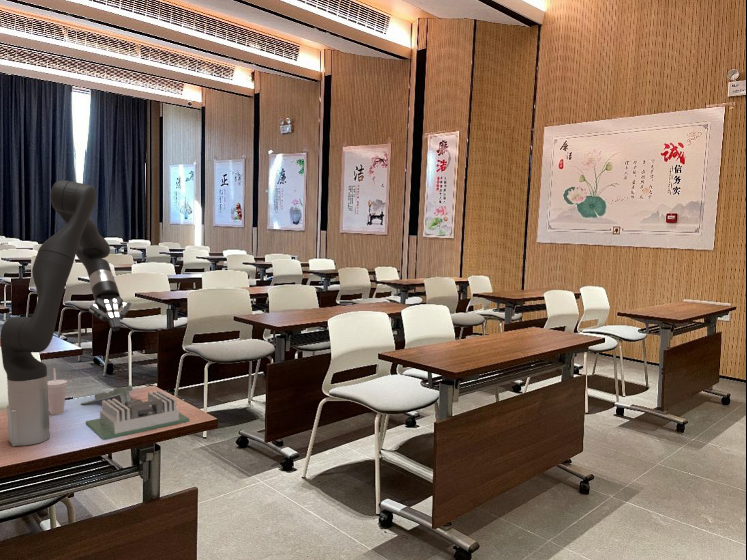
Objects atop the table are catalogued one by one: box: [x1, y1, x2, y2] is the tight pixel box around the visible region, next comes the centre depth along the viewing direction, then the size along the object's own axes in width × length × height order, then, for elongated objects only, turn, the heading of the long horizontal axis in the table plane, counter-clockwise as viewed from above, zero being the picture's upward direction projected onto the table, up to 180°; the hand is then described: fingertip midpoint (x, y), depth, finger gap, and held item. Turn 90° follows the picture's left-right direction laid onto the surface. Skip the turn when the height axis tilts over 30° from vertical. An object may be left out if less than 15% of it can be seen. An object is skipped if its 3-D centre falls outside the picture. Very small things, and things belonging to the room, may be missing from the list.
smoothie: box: [47, 367, 68, 416], centre depth 181 cm, size 6×6×14 cm
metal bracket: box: [80, 384, 138, 406], centre depth 194 cm, size 14×6×15 cm
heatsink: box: [85, 390, 190, 441], centre depth 172 cm, size 24×17×8 cm
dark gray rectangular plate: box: [124, 399, 153, 414], centre depth 171 cm, size 4×1×12 cm
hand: (117, 329), depth 184 cm, fingers closed
